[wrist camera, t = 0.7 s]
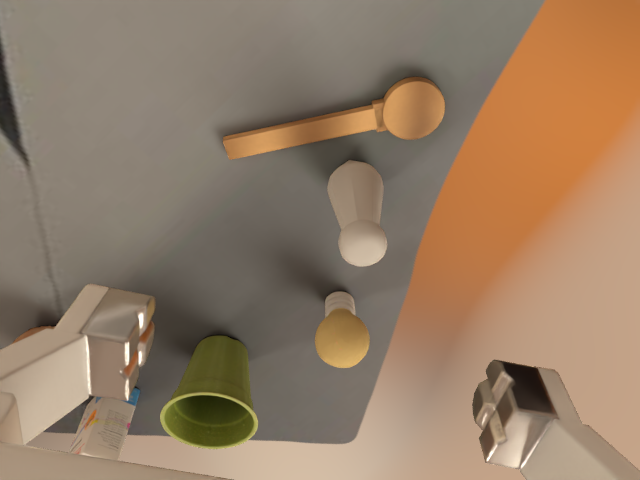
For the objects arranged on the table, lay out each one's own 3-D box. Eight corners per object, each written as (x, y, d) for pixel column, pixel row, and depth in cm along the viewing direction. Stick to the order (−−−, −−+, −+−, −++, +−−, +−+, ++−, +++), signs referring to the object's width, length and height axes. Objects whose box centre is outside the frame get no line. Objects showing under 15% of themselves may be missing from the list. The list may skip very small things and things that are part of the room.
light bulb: (330, 273, 64) (333, 334, 56) (373, 291, 66) (382, 353, 58) (305, 306, 68) (305, 368, 60) (347, 322, 70) (352, 384, 62)
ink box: (109, 376, 75) (73, 475, 64) (141, 389, 77) (112, 487, 66) (85, 404, 79) (47, 502, 68) (116, 416, 81) (84, 513, 70)
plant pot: (221, 308, 67) (209, 380, 59) (280, 355, 73) (277, 426, 64) (159, 347, 72) (138, 419, 63) (220, 388, 78) (209, 459, 69)
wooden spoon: (236, 170, 55) (234, 176, 54) (217, 119, 51) (215, 124, 51) (444, 127, 53) (447, 132, 52) (440, 70, 49) (442, 74, 48)
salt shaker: (367, 143, 53) (382, 215, 43) (388, 185, 57) (407, 262, 46) (316, 166, 55) (319, 242, 45) (340, 206, 58) (348, 285, 48)
